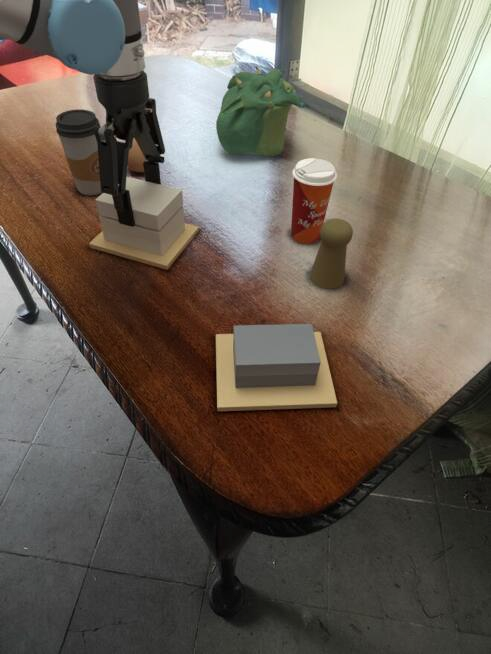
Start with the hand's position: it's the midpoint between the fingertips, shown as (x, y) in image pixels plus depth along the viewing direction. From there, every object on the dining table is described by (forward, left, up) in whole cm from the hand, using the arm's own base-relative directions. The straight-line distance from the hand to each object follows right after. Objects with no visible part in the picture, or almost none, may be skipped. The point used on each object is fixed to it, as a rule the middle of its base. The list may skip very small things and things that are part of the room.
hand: (141, 209), depth 81 cm
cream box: (0, 0, -6) cm, 6 cm away
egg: (-8, +25, -7) cm, 27 cm away
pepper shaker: (+34, -6, -7) cm, 35 cm away
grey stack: (+26, -28, -6) cm, 39 cm away
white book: (0, 0, 0) cm, 0 cm away
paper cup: (+30, +6, -7) cm, 31 cm away
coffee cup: (-16, +16, -7) cm, 24 cm away
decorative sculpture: (+17, +40, -7) cm, 44 cm away
